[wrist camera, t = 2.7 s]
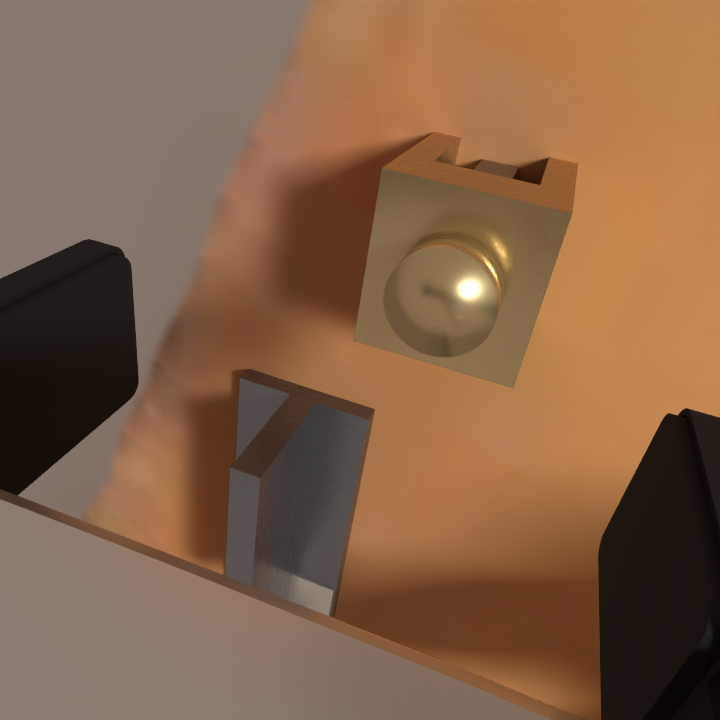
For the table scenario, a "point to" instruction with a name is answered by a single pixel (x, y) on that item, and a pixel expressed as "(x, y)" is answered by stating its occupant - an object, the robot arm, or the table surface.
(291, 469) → the rail
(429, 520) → the table surface
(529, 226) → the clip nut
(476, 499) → the table surface
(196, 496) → the table surface
